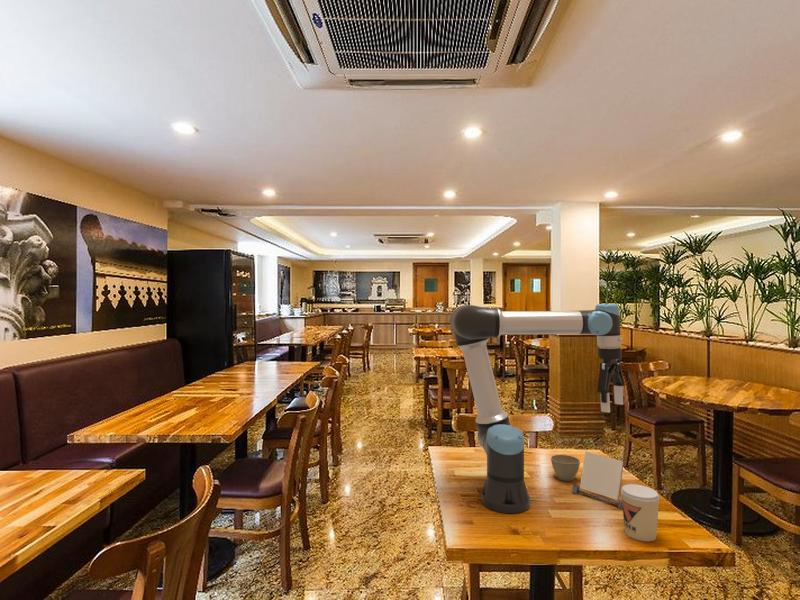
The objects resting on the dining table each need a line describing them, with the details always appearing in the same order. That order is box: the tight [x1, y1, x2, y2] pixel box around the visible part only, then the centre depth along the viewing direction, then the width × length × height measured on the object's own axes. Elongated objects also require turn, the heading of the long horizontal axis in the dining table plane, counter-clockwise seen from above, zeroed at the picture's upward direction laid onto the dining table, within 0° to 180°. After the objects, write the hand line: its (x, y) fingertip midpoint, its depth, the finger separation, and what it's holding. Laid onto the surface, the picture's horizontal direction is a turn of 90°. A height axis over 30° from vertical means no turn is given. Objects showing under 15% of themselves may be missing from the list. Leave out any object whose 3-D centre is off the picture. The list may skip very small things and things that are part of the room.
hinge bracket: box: [571, 484, 623, 511], centre depth 141 cm, size 2×17×2 cm, turn 41°
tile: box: [579, 451, 625, 501], centre depth 143 cm, size 12×12×2 cm
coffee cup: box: [620, 484, 660, 542], centre depth 121 cm, size 9×9×12 cm
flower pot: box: [550, 454, 581, 482], centre depth 159 cm, size 10×10×7 cm
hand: (612, 408), depth 152 cm, fingers open, 13 cm apart
